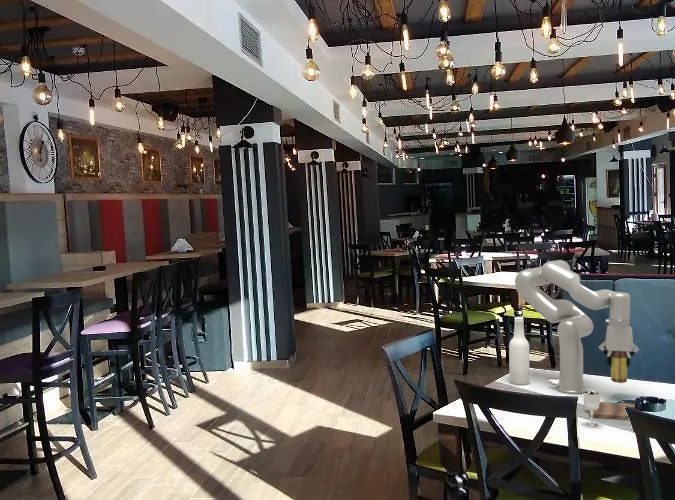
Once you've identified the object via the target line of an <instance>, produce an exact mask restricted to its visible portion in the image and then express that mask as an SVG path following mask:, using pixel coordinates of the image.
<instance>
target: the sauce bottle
mask: <svg viewBox="0 0 675 500" xmlns="http://www.w3.org/2000/svg"><path fill="white" fill-rule="evenodd" d="M610 380H611V381H612V382H613V383H616V384H617V383H619V384H625V383H627V381H628V368H627V354H626V352H624V351H612V353H611V367H610Z"/></svg>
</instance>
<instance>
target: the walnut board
mask: <svg viewBox="0 0 675 500" xmlns="http://www.w3.org/2000/svg"><path fill="white" fill-rule="evenodd" d="M635 404H636V403H628V402H627V403H626V402H607V401H600V407H599V408H598V409H596V410H593V419H606V420H619V421H621V420H623V421H629V420H628V417H627V414H626V411H625V407H626V406H628V407H633V408H634V407H635ZM587 410H588V415H589V418H590V419H591V413H590V412H591V410H589V409H587Z"/></svg>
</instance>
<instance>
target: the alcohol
mask: <svg viewBox="0 0 675 500" xmlns="http://www.w3.org/2000/svg"><path fill="white" fill-rule="evenodd" d="M508 348H509V350H508V354H509V355H508V357H509V358H508V359H509V360H508V361H509V365H508V367H509V372H508V373H509V379H508V381H509V382H510V384H512V385H516V386H526V385H529V383H530V380H531V379H530V343H529V341H528V340H527V338H526V336H525V327H524V317H521V316H515V317H514V327H513V336H512V338H511V339H510V341H509V345H508Z"/></svg>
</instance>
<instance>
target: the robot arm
mask: <svg viewBox="0 0 675 500" xmlns="http://www.w3.org/2000/svg"><path fill="white" fill-rule="evenodd" d="M549 284H554V285H555V286H557V287H559V288H561V289H562V290H564V291H566V292H568V294H569V295H570V297H571V298H572V299H573V300H574V302H577V304H580V305H582V306H583V307H586V309H589V310H593V311H599V310H603V309H606V308H607V309H608V308H609V317H608V319H605V323H607V326H606V327H607V328H606V331H605V340H603V342H602V343H600V345H599V346H598V349H599V350H600V351H601V352H602V353H603V354H604V355H605V356H606V365H608V367H610V368H611V353H612V351H624V352H626V354H627V369H628V368H629V366H631V363H630V362H631V358H632V357H633V356H634V355H635V354H637V353H638V352H639V350H640V349H639V347H638V346H637V345H636V343H634V340H633V339H634V338H633V335H634V334H633V329H632V326H630V317H631V295H630V294H629V293H628V292H621V291H614V290H610V289H608V288H607V289H600V290H594V291H593V290H591V289H589V288H588V287H587V286H584V285H583V284H581V276H580V275H579V274H578V273H576V272H574V271H572V270H571V267H570V265H569V263H568V262H566V260H562V259H557V260H550V261H547V262H546V263H543V265H542V266H539V267H532V268H527V269H523V270H521V271H519V272H518V273H517V274H516V275H515V280H514V285H515V290H516V292H517V294H518V295H519V296H520V297H521V298H522V299H523V300H524V301H525V302H526V303H527V304H528V305H530V306H531V307H532V308H533V309H534V310H535V311H536V312H537V313H539V314H540V315H541V316H542V317H543V318H544V319H545V320H546V321H547V322H549V323H552V324H556V323H558V325H557V337H558V342H559V377H558V378H556V379H552V378H550V379H548V384H549V385H553V386H554V385H556V386H555V388H556V390H557V391H558V392H560V393H564V394H565V393H566V394H573V395H575V394H585V392H587V391H588V387H587V386H585V385H584V347H583V344H582V340H581V338H584V337H588V336H589V335H591V334H592V332H593V330H594V323H593V321H592V319H591V318H590V317H589V316H588V315H587V314H586V313H585V312H584V311H583V310H581V309H580V308H579V307H577V305H575V304H574V303H573V302H571V301H570V300H568V299H557V300H555V299H553V298H552V297H551V296H550V295H549V294H547V293H546V292H545V291H544V290H542V289H540V288H538V287H540V286H545V285H549ZM604 347H605V348H604Z"/></svg>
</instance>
